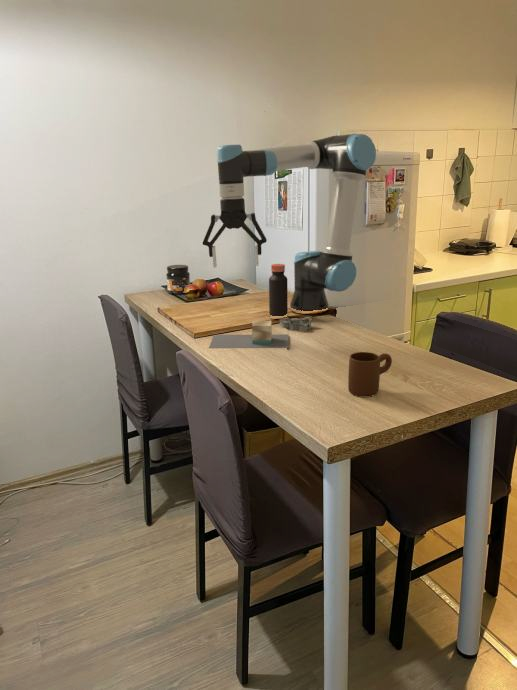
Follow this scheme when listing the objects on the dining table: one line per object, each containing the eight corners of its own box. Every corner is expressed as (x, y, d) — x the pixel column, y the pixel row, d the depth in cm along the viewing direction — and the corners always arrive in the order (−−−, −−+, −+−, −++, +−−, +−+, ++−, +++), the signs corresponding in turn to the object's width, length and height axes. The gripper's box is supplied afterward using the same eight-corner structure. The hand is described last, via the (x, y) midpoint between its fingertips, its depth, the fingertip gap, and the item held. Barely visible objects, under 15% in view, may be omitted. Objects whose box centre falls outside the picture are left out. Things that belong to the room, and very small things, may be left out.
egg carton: (313, 328, 192) (314, 316, 190) (303, 333, 186) (303, 322, 184) (287, 323, 197) (287, 313, 196) (276, 329, 191) (276, 317, 190)
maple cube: (252, 320, 177) (253, 338, 179) (251, 325, 171) (252, 343, 173) (271, 320, 177) (271, 338, 178) (270, 325, 171) (271, 343, 173)
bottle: (267, 319, 202) (266, 266, 196) (272, 315, 208) (271, 263, 202) (285, 320, 200) (284, 266, 194) (289, 316, 206) (289, 263, 200)
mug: (380, 381, 143) (382, 347, 140) (399, 391, 137) (401, 355, 134) (342, 389, 138) (343, 354, 135) (359, 400, 132) (361, 363, 129)
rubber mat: (288, 336, 182) (288, 334, 182) (288, 349, 169) (288, 347, 169) (214, 336, 183) (214, 334, 183) (208, 349, 170) (208, 348, 170)
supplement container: (163, 294, 246) (161, 268, 242) (174, 289, 255) (172, 264, 252) (184, 295, 243) (182, 268, 239) (194, 290, 252) (193, 264, 248)
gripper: (190, 200, 165) (196, 269, 172) (272, 197, 164) (275, 266, 171) (193, 198, 172) (198, 265, 179) (272, 195, 171) (274, 262, 178)
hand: (236, 266), depth 175 cm, fingers open, 13 cm apart
